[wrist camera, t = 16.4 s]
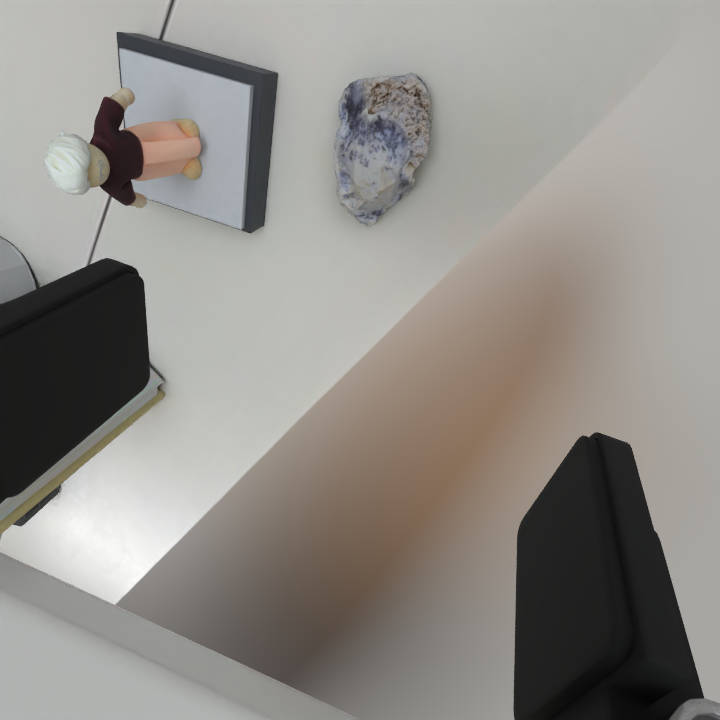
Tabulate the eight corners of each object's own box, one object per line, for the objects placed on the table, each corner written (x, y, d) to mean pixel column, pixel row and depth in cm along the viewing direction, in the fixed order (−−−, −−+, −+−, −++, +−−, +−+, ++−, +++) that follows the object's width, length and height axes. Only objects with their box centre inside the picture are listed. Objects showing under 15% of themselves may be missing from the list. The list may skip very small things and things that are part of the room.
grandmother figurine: (216, 192, 38) (101, 239, 28) (176, 190, 39) (51, 234, 29) (196, 84, 34) (54, 91, 24) (152, 85, 35) (-2, 92, 25)
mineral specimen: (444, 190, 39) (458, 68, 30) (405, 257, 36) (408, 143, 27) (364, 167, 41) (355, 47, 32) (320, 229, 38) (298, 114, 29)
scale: (278, 73, 35) (259, 73, 32) (264, 225, 42) (247, 235, 39) (138, 33, 36) (110, 31, 34) (147, 187, 43) (124, 194, 41)
